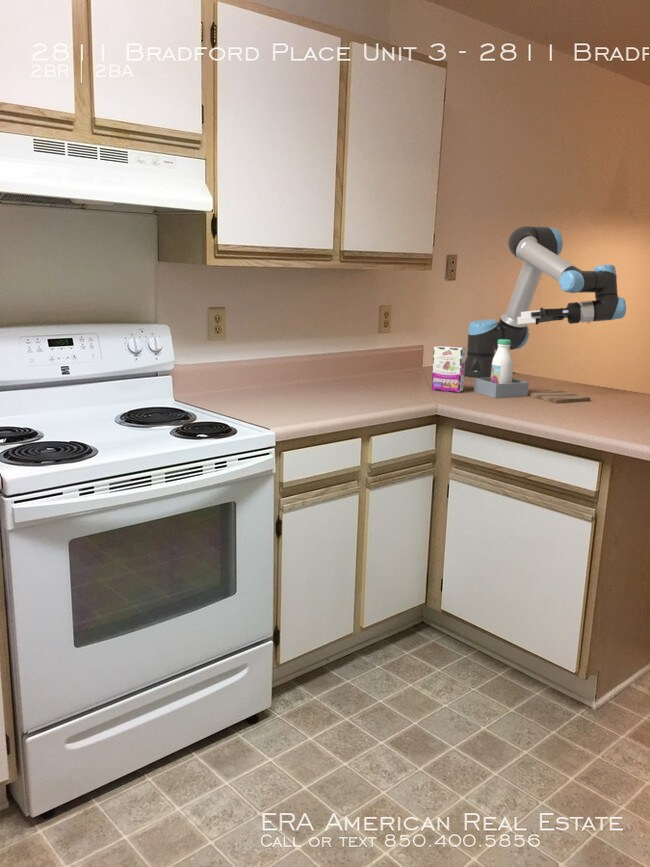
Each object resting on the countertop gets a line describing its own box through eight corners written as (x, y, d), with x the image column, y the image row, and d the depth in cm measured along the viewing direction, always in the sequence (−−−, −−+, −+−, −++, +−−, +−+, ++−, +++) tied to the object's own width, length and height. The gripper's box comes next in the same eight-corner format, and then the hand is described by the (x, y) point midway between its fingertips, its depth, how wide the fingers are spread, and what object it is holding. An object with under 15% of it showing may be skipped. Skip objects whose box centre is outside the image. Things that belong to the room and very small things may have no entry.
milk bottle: (509, 392, 272) (513, 338, 268) (512, 396, 265) (516, 341, 260) (488, 391, 273) (492, 338, 268) (490, 395, 266) (495, 340, 261)
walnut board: (528, 395, 266) (529, 392, 266) (562, 393, 272) (562, 390, 271) (555, 403, 253) (556, 399, 252) (590, 401, 258) (590, 397, 258)
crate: (473, 391, 273) (474, 378, 272) (504, 389, 278) (505, 376, 277) (495, 398, 260) (496, 384, 259) (527, 396, 265) (528, 382, 264)
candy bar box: (463, 391, 273) (466, 347, 269) (459, 393, 268) (462, 348, 265) (435, 388, 278) (437, 345, 274) (430, 390, 273) (433, 346, 270)
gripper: (586, 318, 251) (523, 324, 254) (574, 326, 275) (516, 332, 279) (585, 296, 251) (522, 302, 254) (572, 307, 275) (515, 312, 279)
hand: (519, 318), depth 266 cm, fingers open, 13 cm apart
